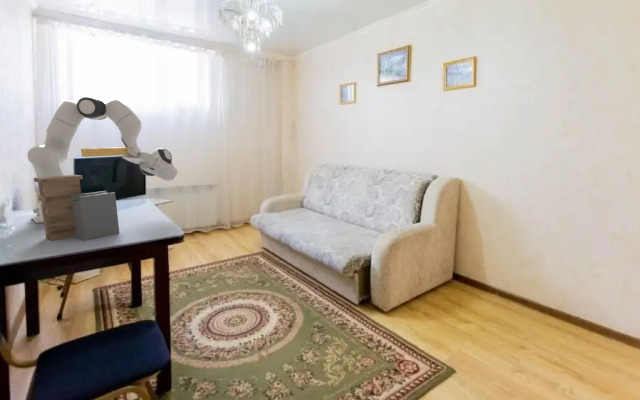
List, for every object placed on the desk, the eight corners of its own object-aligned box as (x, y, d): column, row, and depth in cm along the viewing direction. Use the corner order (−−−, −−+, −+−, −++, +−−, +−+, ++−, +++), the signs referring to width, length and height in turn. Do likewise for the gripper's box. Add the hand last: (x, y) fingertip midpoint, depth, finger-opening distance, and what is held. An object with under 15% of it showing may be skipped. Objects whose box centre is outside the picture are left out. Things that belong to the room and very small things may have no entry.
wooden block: (85, 156, 155) (84, 148, 154) (81, 156, 156) (80, 148, 156) (134, 154, 173) (133, 147, 172) (130, 154, 175) (129, 147, 174)
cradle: (76, 237, 150) (70, 195, 147) (110, 230, 162) (105, 190, 159) (85, 240, 146) (79, 197, 143) (119, 233, 158) (115, 192, 154)
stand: (42, 238, 149) (33, 177, 144) (81, 231, 161) (74, 174, 156) (49, 241, 145) (41, 179, 140) (89, 233, 157) (82, 175, 153)
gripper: (139, 156, 188) (115, 144, 177) (162, 158, 177) (138, 144, 166) (135, 167, 186) (110, 155, 175) (158, 169, 175) (133, 156, 164)
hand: (124, 150), depth 170 cm, fingers closed on wooden block, 3 cm apart
